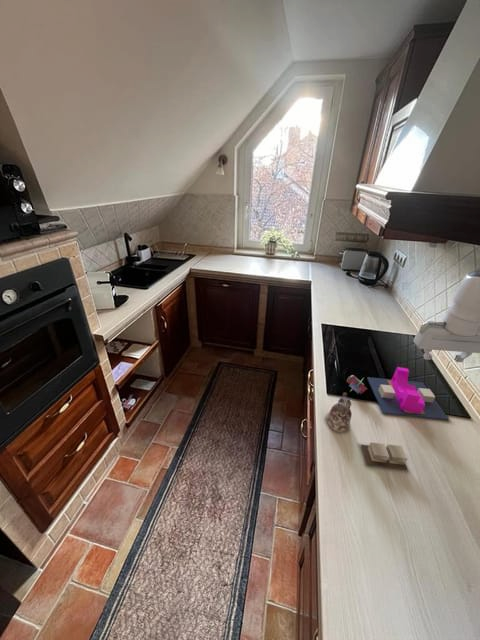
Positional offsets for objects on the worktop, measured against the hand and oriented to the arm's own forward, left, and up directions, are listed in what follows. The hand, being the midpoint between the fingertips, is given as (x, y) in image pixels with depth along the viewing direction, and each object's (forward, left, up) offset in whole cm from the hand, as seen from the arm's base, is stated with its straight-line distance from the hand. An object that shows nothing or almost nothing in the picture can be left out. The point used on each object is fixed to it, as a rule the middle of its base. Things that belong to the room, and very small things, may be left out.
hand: (442, 359), depth 82 cm
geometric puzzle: (+21, -5, -22) cm, 31 cm away
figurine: (+31, +11, -22) cm, 40 cm away
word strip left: (+20, +22, -22) cm, 37 cm away
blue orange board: (+3, -4, -22) cm, 23 cm away
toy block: (+3, -4, -21) cm, 22 cm away
